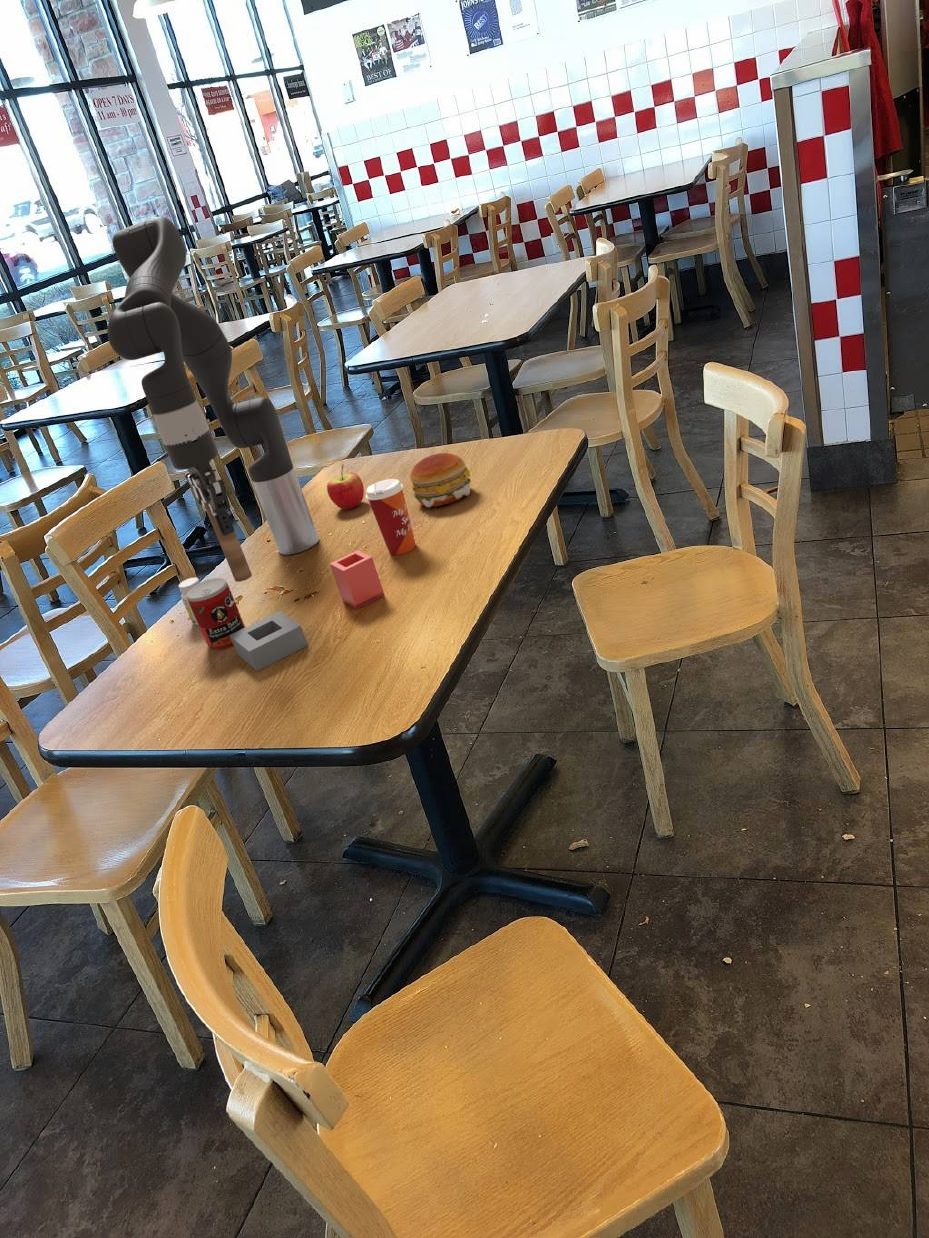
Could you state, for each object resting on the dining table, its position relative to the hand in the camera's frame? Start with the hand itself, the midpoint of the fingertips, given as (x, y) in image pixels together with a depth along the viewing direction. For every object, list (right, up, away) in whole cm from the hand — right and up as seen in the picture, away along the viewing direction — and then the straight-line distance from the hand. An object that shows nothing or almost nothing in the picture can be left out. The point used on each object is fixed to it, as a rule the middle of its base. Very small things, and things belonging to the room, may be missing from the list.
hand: (224, 531), depth 165 cm
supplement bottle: (-11, -15, +31) cm, 36 cm away
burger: (+36, +12, +56) cm, 68 cm away
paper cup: (+27, -1, +36) cm, 46 cm away
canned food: (-4, -19, +19) cm, 27 cm away
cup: (+21, -11, +20) cm, 31 cm away
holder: (+6, -20, +10) cm, 23 cm away
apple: (+13, +12, +68) cm, 70 cm away
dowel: (+2, -8, +4) cm, 9 cm away
